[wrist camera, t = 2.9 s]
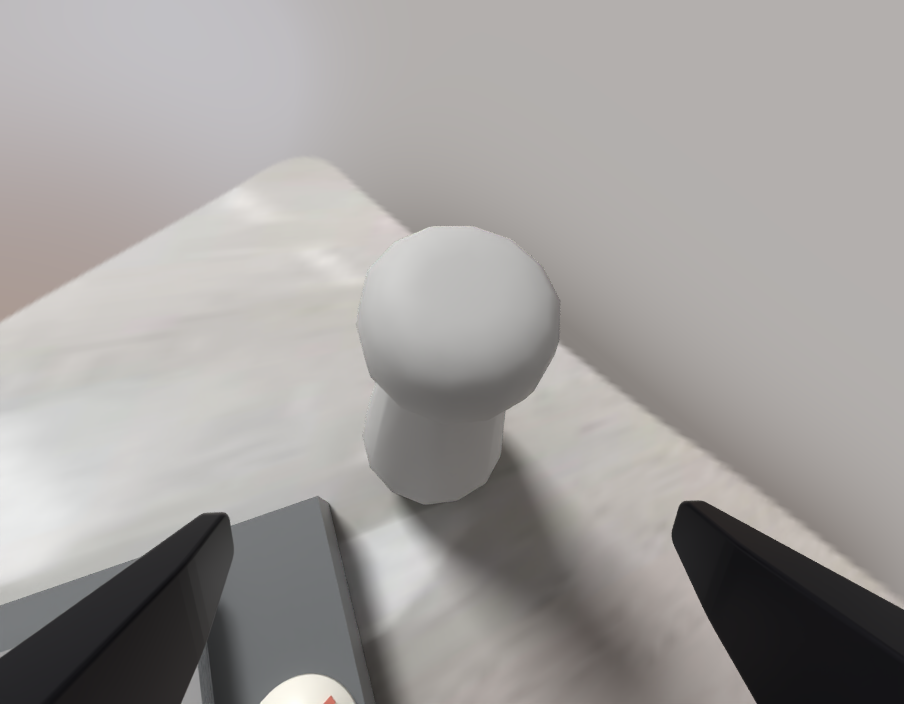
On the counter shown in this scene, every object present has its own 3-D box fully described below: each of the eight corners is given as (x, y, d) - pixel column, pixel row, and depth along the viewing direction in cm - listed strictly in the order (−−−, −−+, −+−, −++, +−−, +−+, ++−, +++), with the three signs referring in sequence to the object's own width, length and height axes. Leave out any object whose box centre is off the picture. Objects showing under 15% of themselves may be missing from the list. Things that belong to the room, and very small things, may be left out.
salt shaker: (507, 409, 21) (638, 231, 9) (470, 529, 18) (584, 494, 7) (396, 368, 21) (384, 145, 9) (345, 480, 19) (246, 365, 7)
